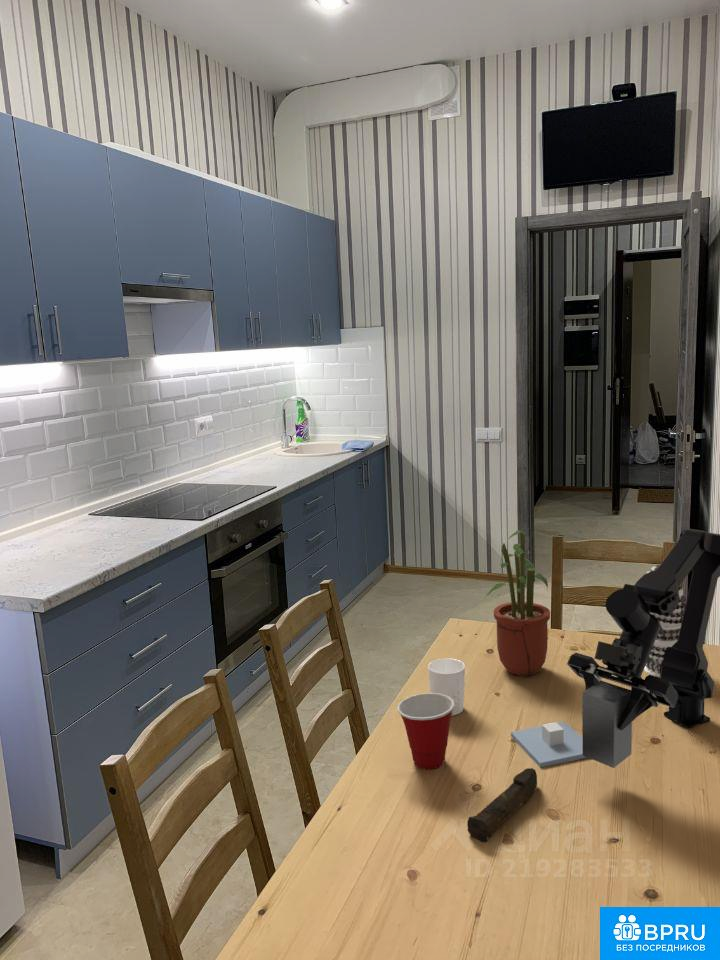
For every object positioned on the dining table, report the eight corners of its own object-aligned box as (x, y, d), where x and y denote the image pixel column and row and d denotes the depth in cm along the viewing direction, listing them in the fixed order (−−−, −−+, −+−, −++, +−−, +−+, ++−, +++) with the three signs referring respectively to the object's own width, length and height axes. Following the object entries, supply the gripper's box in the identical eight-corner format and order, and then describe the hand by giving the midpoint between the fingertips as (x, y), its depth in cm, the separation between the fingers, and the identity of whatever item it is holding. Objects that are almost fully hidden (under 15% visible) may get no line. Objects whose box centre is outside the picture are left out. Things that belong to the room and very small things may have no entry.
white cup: (425, 714, 162) (423, 671, 160) (435, 698, 169) (434, 656, 168) (461, 720, 159) (459, 675, 157) (470, 703, 166) (468, 660, 165)
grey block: (600, 742, 137) (600, 680, 135) (631, 754, 133) (632, 690, 130) (582, 755, 133) (582, 692, 131) (613, 768, 129) (614, 702, 127)
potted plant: (556, 681, 174) (555, 534, 168) (489, 684, 175) (485, 537, 168) (539, 650, 192) (538, 516, 185) (478, 653, 192) (475, 519, 186)
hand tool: (486, 847, 120) (486, 821, 119) (466, 836, 122) (465, 810, 121) (550, 794, 133) (550, 769, 132) (530, 785, 135) (530, 761, 135)
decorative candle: (637, 673, 176) (638, 570, 171) (647, 659, 183) (649, 560, 179) (678, 682, 171) (681, 576, 166) (687, 666, 178) (690, 564, 174)
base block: (564, 728, 155) (564, 707, 154) (597, 758, 143) (597, 736, 143) (510, 738, 152) (510, 718, 151) (540, 770, 140) (539, 748, 140)
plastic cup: (418, 741, 152) (415, 685, 150) (466, 755, 145) (464, 697, 143) (388, 767, 143) (385, 708, 141) (438, 783, 137) (436, 722, 135)
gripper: (572, 610, 138) (537, 687, 133) (671, 636, 124) (637, 722, 119) (595, 638, 145) (563, 712, 139) (692, 665, 131) (660, 748, 126)
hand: (602, 722), depth 131 cm, fingers closed on grey block, 6 cm apart
